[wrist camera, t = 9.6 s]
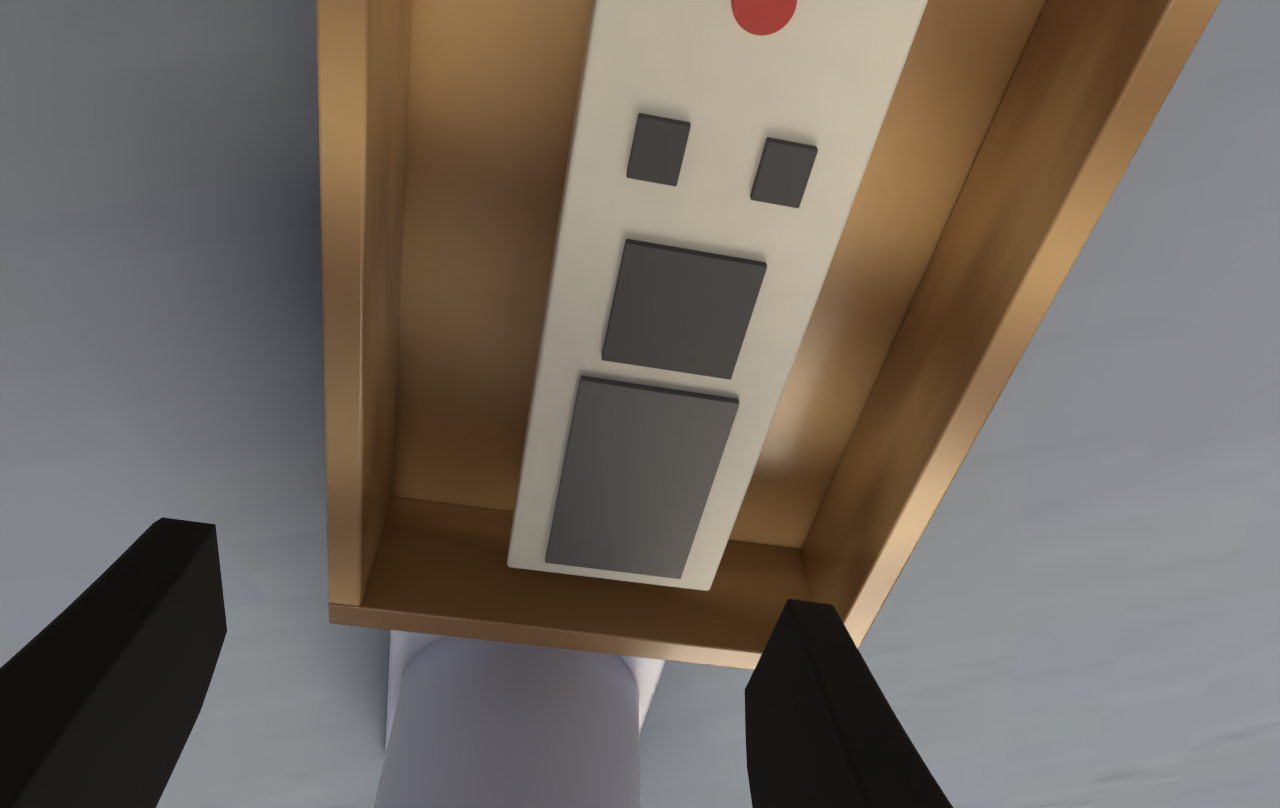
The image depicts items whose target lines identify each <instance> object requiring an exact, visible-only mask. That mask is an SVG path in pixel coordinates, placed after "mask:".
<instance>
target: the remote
mask: <svg viewBox="0 0 1280 808" xmlns="http://www.w3.org/2000/svg"><path fill="white" fill-rule="evenodd" d="M927 2H928V0H592V4H591V10H590V17H589V23H588V30H587V36H586V43H585V49H584V56H583V62H582V69H581V75H580V82H579V88H578V94H577V101H576V107H575V114H574V120H573V127H572V133H571V140H570V146H569V153H568V159H567V165H566V172H565V178H564V185H563V191H562V198H561V204H560V211H559V217H558V224H557V230H556V237H555V243H554V249H553V256H552V262H551V269H550V275H549V282H548V288H547V295H546V301H545V308H544V314H543V321H542V327H541V333H540V340H539V346H538V353H537V359H536V366H535V372H534V379H533V385H532V392H531V398H530V405H529V411H528V417H527V424H526V430H525V437H524V443H523V450H522V456H521V463H520V469H519V476H518V483H517V491H516V498H515V505H514V513H513V520H512V528H511V535H510V543H509V550H508V558H507V565H508V567H512V568H520V569H529V570H537V571H545V572H554V573H562V574H570V575H579V576H587V577H595V578H604V579H612V580H620V581H629V582H637V583H645V584H654V585H662V586H670V587H679V588H687V589H695V590H704V591H708V590H710V588H711V585H712V583H713V580H714V577H715V575H716V572H717V569H718V566H719V564H720V561H721V558H722V556H723V553H724V550H725V548H726V545H727V542H728V539H729V537H730V534H731V531H732V529H733V526H734V523H735V521H736V518H737V515H738V512H739V510H740V507H741V504H742V502H743V499H744V496H745V494H746V491H747V488H748V485H749V483H750V480H751V477H752V475H753V472H754V469H755V466H756V464H757V461H758V458H759V456H760V453H761V450H762V448H763V445H764V442H765V439H766V437H767V434H768V431H769V429H770V426H771V423H772V421H773V418H774V415H775V412H776V410H777V407H778V404H779V402H780V399H781V396H782V394H783V391H784V388H785V385H786V383H787V380H788V377H789V375H790V372H791V369H792V367H793V364H794V361H795V358H796V356H797V353H798V350H799V348H800V345H801V342H802V339H803V337H804V334H805V331H806V329H807V326H808V323H809V321H810V318H811V315H812V312H813V310H814V307H815V304H816V302H817V299H818V296H819V294H820V291H821V288H822V285H823V283H824V280H825V277H826V275H827V272H828V269H829V267H830V264H831V261H832V258H833V256H834V253H835V250H836V248H837V245H838V242H839V240H840V237H841V234H842V231H843V229H844V226H845V223H846V221H847V218H848V215H849V212H850V210H851V207H852V204H853V202H854V199H855V196H856V194H857V191H858V188H859V185H860V183H861V180H862V177H863V175H864V172H865V169H866V167H867V164H868V161H869V158H870V156H871V153H872V150H873V148H874V145H875V142H876V140H877V137H878V134H879V131H880V129H881V126H882V123H883V121H884V118H885V115H886V113H887V110H888V107H889V104H890V102H891V99H892V96H893V94H894V91H895V88H896V85H897V83H898V80H899V77H900V75H901V72H902V69H903V67H904V64H905V61H906V58H907V56H908V53H909V50H910V48H911V45H912V42H913V40H914V37H915V34H916V31H917V29H918V26H919V23H920V21H921V18H922V15H923V13H924V10H925V7H926V4H927Z"/></svg>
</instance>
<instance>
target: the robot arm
mask: <svg viewBox="0 0 1280 808" xmlns="http://www.w3.org/2000/svg"><path fill="white" fill-rule="evenodd" d="M226 632H227V626H226V617H225V608H224V599H223V590H222V581H221V572H220V562H219V553H218V544H217V535H216V526H215V524H208V523H200V522H192V521H185V520H177V519H169V518H161V519H159V520H158V521H156V522H154V523H153V524H152V525H151V526H150V527H149V528H148V529H147V530H146V531H145V532H144V533H143V534H142V535H141V536H140V537H139V538H138V539H137V540H136V541H135V542H134V543H133V544H132V545H131V546H130V547H129V548H128V549H127V550H126V551H125V552H124V553H123V554H122V555H121V556H120V557H119V558H118V559H117V560H116V561H115V562H114V563H113V564H112V565H111V566H110V567H109V568H108V569H107V570H106V571H105V572H104V573H103V574H102V575H101V576H100V577H99V578H98V579H97V580H96V581H95V582H94V583H93V584H92V585H90V586H89V587H88V588H87V589H86V590H85V591H84V592H83V593H82V594H81V595H80V596H79V597H78V598H77V599H76V600H75V601H74V602H73V603H72V604H71V605H69V606H68V607H67V608H66V609H65V610H64V611H63V612H62V613H61V614H60V615H59V616H58V617H57V618H55V619H54V620H53V621H52V622H51V623H50V624H49V625H48V626H47V627H45V628H44V629H43V630H42V631H41V632H40V633H39V634H38V635H37V636H36V637H34V638H33V639H32V640H31V641H30V642H29V643H28V644H27V645H26V646H25V647H23V648H22V649H21V650H20V651H19V652H18V653H17V654H16V655H15V656H13V657H12V658H11V659H10V660H9V661H8V662H7V663H6V664H4V665H3V666H2V667H1V668H0V808H156V806H157V804H158V802H159V800H160V797H161V795H162V793H163V791H164V789H165V787H166V785H167V782H168V780H169V778H170V776H171V774H172V772H173V770H174V767H175V765H176V763H177V761H178V759H179V757H180V754H181V752H182V750H183V748H184V746H185V744H186V741H187V739H188V737H189V735H190V733H191V731H192V728H193V726H194V724H195V722H196V720H197V717H198V715H199V713H200V711H201V708H202V705H203V702H204V699H205V696H206V693H207V690H208V687H209V685H210V682H211V679H212V676H213V673H214V670H215V667H216V663H217V660H218V657H219V654H220V651H221V648H222V645H223V642H224V639H225V635H226ZM665 661H666V660H660V659H651V658H642V657H633V656H624V655H614V654H605V653H596V652H587V651H578V650H569V649H560V648H551V647H542V646H532V645H523V644H514V643H505V642H496V641H487V640H478V639H469V638H459V637H450V636H441V635H432V634H423V633H414V632H405V631H396V630H391V633H390V655H389V678H388V701H387V723H386V746H385V760H384V764H383V769H382V773H381V777H380V782H379V786H378V791H377V795H376V800H375V804H374V808H640V761H639V735H640V733H641V730H642V727H643V724H644V721H645V718H646V716H647V713H648V710H649V707H650V704H651V701H652V698H653V696H654V693H655V690H656V687H657V684H658V681H659V679H660V676H661V673H662V670H663V667H664V664H665ZM745 723H746V752H747V770H748V777H749V784H750V792H751V799H752V806H753V808H953V807H952V805H951V804H950V802H949V801H948V799H947V798H946V796H945V794H944V793H943V791H942V790H941V788H940V787H939V785H938V784H937V782H936V780H935V779H934V777H933V776H932V774H931V773H930V771H929V769H928V768H927V766H926V765H925V763H924V761H923V760H922V758H921V756H920V755H919V753H918V752H917V750H916V748H915V747H914V745H913V743H912V742H911V740H910V739H909V737H908V735H907V734H906V732H905V730H904V729H903V727H902V725H901V724H900V722H899V720H898V719H897V717H896V715H895V714H894V712H893V710H892V709H891V707H890V705H889V703H888V702H887V700H886V698H885V696H884V695H883V693H882V691H881V689H880V688H879V686H878V684H877V682H876V681H875V679H874V677H873V675H872V674H871V672H870V670H869V668H868V666H867V665H866V663H865V661H864V659H863V657H862V656H861V654H860V652H859V650H858V648H857V647H856V645H855V643H854V641H853V639H852V638H851V636H850V634H849V632H848V630H847V628H846V627H845V625H844V623H843V621H842V619H841V618H840V616H839V614H838V612H837V611H836V609H835V608H834V606H833V605H832V604H825V603H817V602H809V601H802V600H794V599H788V600H787V602H786V604H785V606H784V608H783V610H782V613H781V615H780V617H779V619H778V621H777V623H776V625H775V627H774V630H773V632H772V634H771V636H770V638H769V640H768V642H767V644H766V646H765V649H764V651H763V653H762V655H761V657H760V659H759V661H758V663H757V665H756V668H755V670H754V672H753V674H752V676H751V678H750V680H749V682H748V684H747V687H746V689H745Z"/></svg>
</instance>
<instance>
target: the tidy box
mask: <svg viewBox="0 0 1280 808" xmlns="http://www.w3.org/2000/svg"><path fill="white" fill-rule="evenodd" d="M1219 2H1220V0H928V2H927V4H926V7H925V10H924V13H923V15H922V18H921V21H920V23H919V26H918V29H917V31H916V34H915V37H914V40H913V42H912V45H911V48H910V50H909V53H908V56H907V58H906V61H905V64H904V67H903V69H902V72H901V75H900V77H899V80H898V83H897V85H896V88H895V91H894V94H893V96H892V99H891V102H890V104H889V107H888V110H887V113H886V115H885V118H884V121H883V123H882V126H881V129H880V131H879V134H878V137H877V140H876V142H875V145H874V148H873V150H872V153H871V156H870V158H869V161H868V164H867V167H866V169H865V172H864V175H863V177H862V180H861V183H860V185H859V188H858V191H857V194H856V196H855V199H854V202H853V204H852V207H851V210H850V212H849V215H848V218H847V221H846V223H845V226H844V229H843V231H842V234H841V237H840V240H839V242H838V245H837V248H836V250H835V253H834V256H833V258H832V261H831V264H830V267H829V269H828V272H827V275H826V277H825V280H824V283H823V285H822V288H821V291H820V294H819V296H818V299H817V302H816V304H815V307H814V310H813V312H812V315H811V318H810V321H809V323H808V326H807V329H806V331H805V334H804V337H803V339H802V342H801V345H800V348H799V350H798V353H797V356H796V358H795V361H794V364H793V367H792V369H791V372H790V375H789V377H788V380H787V383H786V385H785V388H784V391H783V394H782V396H781V399H780V402H779V404H778V407H777V410H776V412H775V415H774V418H773V421H772V423H771V426H770V429H769V431H768V434H767V437H766V439H765V442H764V445H763V448H762V450H761V453H760V456H759V458H758V461H757V464H756V466H755V469H754V472H753V475H752V477H751V480H750V483H749V485H748V488H747V491H746V494H745V496H744V499H743V502H742V504H741V507H740V510H739V512H738V515H737V518H736V521H735V523H734V526H733V529H732V531H731V534H730V537H729V539H728V542H727V545H726V548H725V550H724V553H723V556H722V558H721V561H720V564H719V566H718V569H717V572H716V575H715V577H714V580H713V583H712V585H711V588H710V590H708V591H704V590H695V589H687V588H679V587H670V586H662V585H654V584H645V583H637V582H629V581H620V580H612V579H604V578H595V577H587V576H579V575H570V574H562V573H554V572H545V571H537V570H529V569H520V568H512V567H508V565H507V558H508V550H509V543H510V535H511V528H512V520H513V513H514V505H515V498H516V491H517V483H518V476H519V469H520V463H521V456H522V450H523V443H524V437H525V430H526V424H527V417H528V411H529V405H530V398H531V392H532V385H533V379H534V372H535V366H536V359H537V353H538V346H539V340H540V333H541V327H542V321H543V314H544V308H545V301H546V295H547V288H548V282H549V275H550V269H551V262H552V256H553V249H554V243H555V237H556V230H557V224H558V217H559V211H560V204H561V198H562V191H563V185H564V178H565V172H566V165H567V159H568V153H569V146H570V140H571V133H572V127H573V120H574V114H575V107H576V101H577V94H578V88H579V82H580V75H581V69H582V62H583V56H584V49H585V43H586V36H587V30H588V23H589V17H590V10H591V4H592V0H316V24H317V71H318V118H319V165H320V211H321V258H322V305H323V352H324V398H325V445H326V492H327V538H328V585H329V622H330V623H332V624H341V625H350V626H359V627H368V628H377V629H387V630H396V631H405V632H414V633H423V634H432V635H441V636H450V637H459V638H469V639H478V640H487V641H496V642H505V643H514V644H523V645H532V646H542V647H551V648H560V649H569V650H578V651H587V652H596V653H605V654H614V655H624V656H633V657H642V658H651V659H660V660H669V661H678V662H687V663H696V664H706V665H715V666H724V667H733V668H742V669H751V670H755V668H756V665H757V663H758V661H759V659H760V657H761V655H762V653H763V651H764V649H765V646H766V644H767V642H768V640H769V638H770V636H771V634H772V632H773V630H774V627H775V625H776V623H777V621H778V619H779V617H780V615H781V613H782V610H783V608H784V606H785V604H786V602H787V600H788V599H794V600H802V601H809V602H817V603H825V604H832V605H833V606H834V608H835V609H836V611H837V612H838V614H839V616H840V618H841V619H842V621H843V623H844V625H845V627H846V628H847V630H848V632H849V634H850V636H851V638H852V639H853V641H854V643H855V645H856V647H857V648H858V649H859V647H860V645H861V643H862V642H863V640H864V638H865V636H866V634H867V633H868V631H869V629H870V627H871V625H872V624H873V622H874V620H875V618H876V617H877V615H878V613H879V611H880V609H881V608H882V606H883V604H884V602H885V600H886V599H887V597H888V595H889V593H890V591H891V590H892V588H893V586H894V584H895V582H896V581H897V579H898V577H899V575H900V574H901V572H902V570H903V568H904V566H905V565H906V563H907V561H908V559H909V557H910V556H911V554H912V552H913V550H914V548H915V547H916V545H917V543H918V541H919V539H920V538H921V536H922V534H923V532H924V531H925V529H926V527H927V525H928V523H929V522H930V520H931V518H932V516H933V514H934V513H935V511H936V509H937V507H938V505H939V504H940V502H941V500H942V498H943V496H944V495H945V493H946V491H947V489H948V488H949V486H950V484H951V482H952V480H953V479H954V477H955V475H956V473H957V471H958V470H959V468H960V466H961V464H962V462H963V461H964V459H965V457H966V455H967V454H968V452H969V450H970V448H971V446H972V445H973V443H974V441H975V439H976V437H977V436H978V434H979V432H980V430H981V428H982V427H983V425H984V423H985V421H986V419H987V418H988V416H989V414H990V412H991V411H992V409H993V407H994V405H995V403H996V402H997V400H998V398H999V396H1000V394H1001V393H1002V391H1003V389H1004V387H1005V385H1006V384H1007V382H1008V380H1009V378H1010V376H1011V375H1012V373H1013V371H1014V369H1015V368H1016V366H1017V364H1018V362H1019V360H1020V359H1021V357H1022V355H1023V353H1024V351H1025V350H1026V348H1027V346H1028V344H1029V342H1030V341H1031V339H1032V337H1033V335H1034V333H1035V332H1036V330H1037V328H1038V326H1039V325H1040V323H1041V321H1042V319H1043V317H1044V316H1045V314H1046V312H1047V310H1048V308H1049V307H1050V305H1051V303H1052V301H1053V299H1054V298H1055V296H1056V294H1057V292H1058V290H1059V289H1060V287H1061V285H1062V283H1063V282H1064V280H1065V278H1066V276H1067V274H1068V273H1069V271H1070V269H1071V267H1072V265H1073V264H1074V262H1075V260H1076V258H1077V256H1078V255H1079V253H1080V251H1081V249H1082V248H1083V246H1084V244H1085V242H1086V240H1087V239H1088V237H1089V235H1090V233H1091V231H1092V230H1093V228H1094V226H1095V224H1096V222H1097V221H1098V219H1099V217H1100V215H1101V213H1102V212H1103V210H1104V208H1105V206H1106V205H1107V203H1108V201H1109V199H1110V197H1111V196H1112V194H1113V192H1114V190H1115V188H1116V187H1117V185H1118V183H1119V181H1120V179H1121V178H1122V176H1123V174H1124V172H1125V170H1126V169H1127V167H1128V165H1129V163H1130V162H1131V160H1132V158H1133V156H1134V154H1135V153H1136V151H1137V149H1138V147H1139V145H1140V144H1141V142H1142V140H1143V138H1144V136H1145V135H1146V133H1147V131H1148V129H1149V127H1150V126H1151V124H1152V122H1153V120H1154V119H1155V117H1156V115H1157V113H1158V111H1159V110H1160V108H1161V106H1162V104H1163V102H1164V101H1165V99H1166V97H1167V95H1168V93H1169V92H1170V90H1171V88H1172V86H1173V85H1174V83H1175V81H1176V79H1177V77H1178V76H1179V74H1180V72H1181V70H1182V68H1183V67H1184V65H1185V63H1186V61H1187V59H1188V58H1189V56H1190V54H1191V52H1192V50H1193V49H1194V47H1195V45H1196V43H1197V42H1198V40H1199V38H1200V36H1201V34H1202V33H1203V31H1204V29H1205V27H1206V25H1207V24H1208V22H1209V20H1210V18H1211V16H1212V15H1213V13H1214V11H1215V9H1216V7H1217V6H1218V4H1219Z"/></svg>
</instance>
